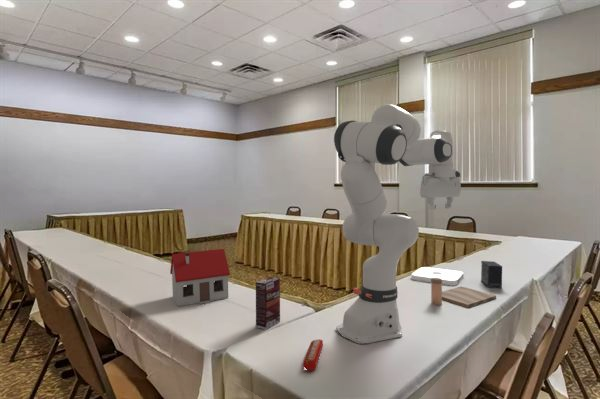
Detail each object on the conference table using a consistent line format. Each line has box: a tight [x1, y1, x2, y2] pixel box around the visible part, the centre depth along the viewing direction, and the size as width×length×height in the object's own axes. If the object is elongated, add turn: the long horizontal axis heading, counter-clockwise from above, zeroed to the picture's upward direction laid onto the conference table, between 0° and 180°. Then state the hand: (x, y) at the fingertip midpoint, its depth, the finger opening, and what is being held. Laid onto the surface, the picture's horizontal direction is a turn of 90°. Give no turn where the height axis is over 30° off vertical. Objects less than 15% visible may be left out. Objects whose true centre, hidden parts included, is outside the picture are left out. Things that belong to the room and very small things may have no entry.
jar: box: [430, 278, 443, 306], centre depth 139 cm, size 4×4×10 cm
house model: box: [169, 248, 231, 307], centre depth 151 cm, size 25×20×21 cm
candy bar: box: [302, 338, 324, 371], centre depth 96 cm, size 16×4×3 cm, turn 168°
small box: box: [480, 260, 503, 289], centre depth 163 cm, size 11×6×10 cm, turn 168°
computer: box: [411, 266, 464, 286], centre depth 177 cm, size 22×22×3 cm
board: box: [442, 286, 497, 308], centre depth 145 cm, size 20×16×1 cm
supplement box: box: [255, 276, 281, 331], centre depth 120 cm, size 9×5×16 cm, turn 148°
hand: (440, 208), depth 132 cm, fingers open, 8 cm apart
